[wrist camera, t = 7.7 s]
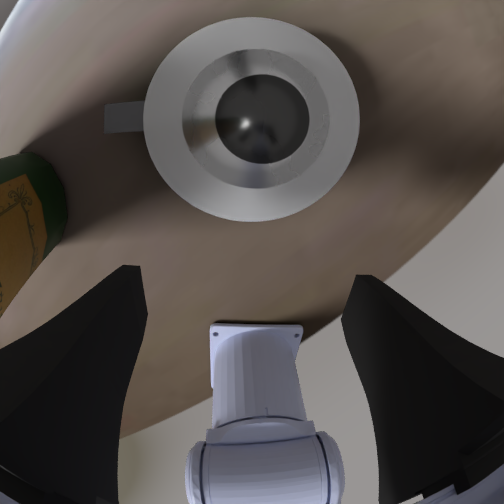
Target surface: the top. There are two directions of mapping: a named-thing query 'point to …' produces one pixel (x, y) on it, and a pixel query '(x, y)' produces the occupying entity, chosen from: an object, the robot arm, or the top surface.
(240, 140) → the knobbed lid
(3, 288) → the bottle
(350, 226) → the top surface
